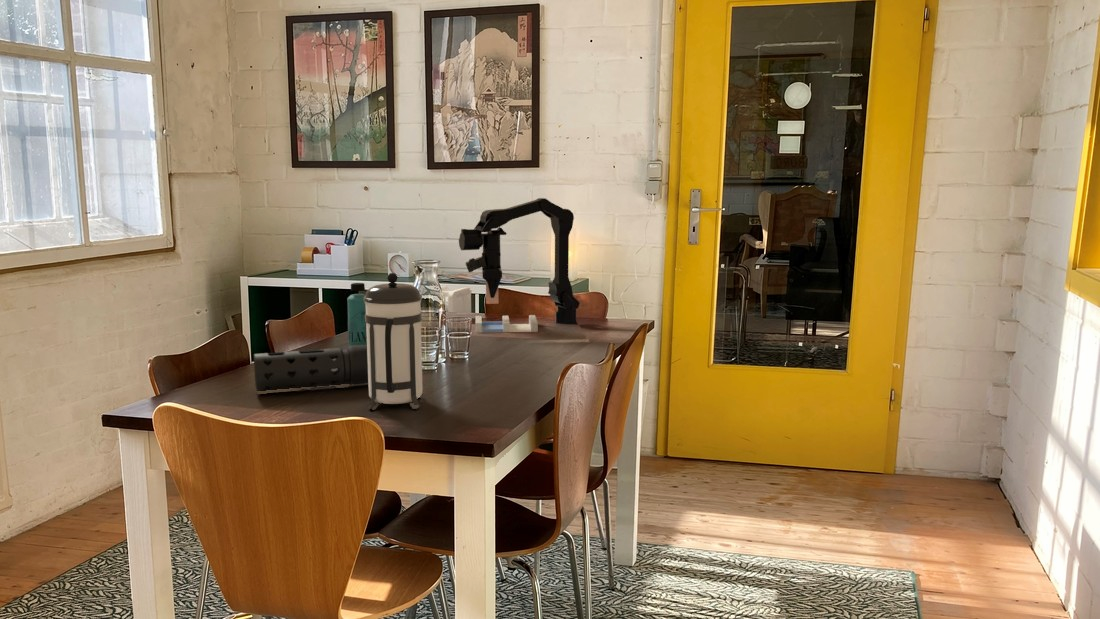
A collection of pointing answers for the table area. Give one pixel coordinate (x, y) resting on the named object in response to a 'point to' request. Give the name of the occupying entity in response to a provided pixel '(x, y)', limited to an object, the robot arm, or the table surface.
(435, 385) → the table surface
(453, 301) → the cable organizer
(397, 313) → the coffee press
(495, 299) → the pinkish tan block
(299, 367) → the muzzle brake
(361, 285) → the beverage bottle
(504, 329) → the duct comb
